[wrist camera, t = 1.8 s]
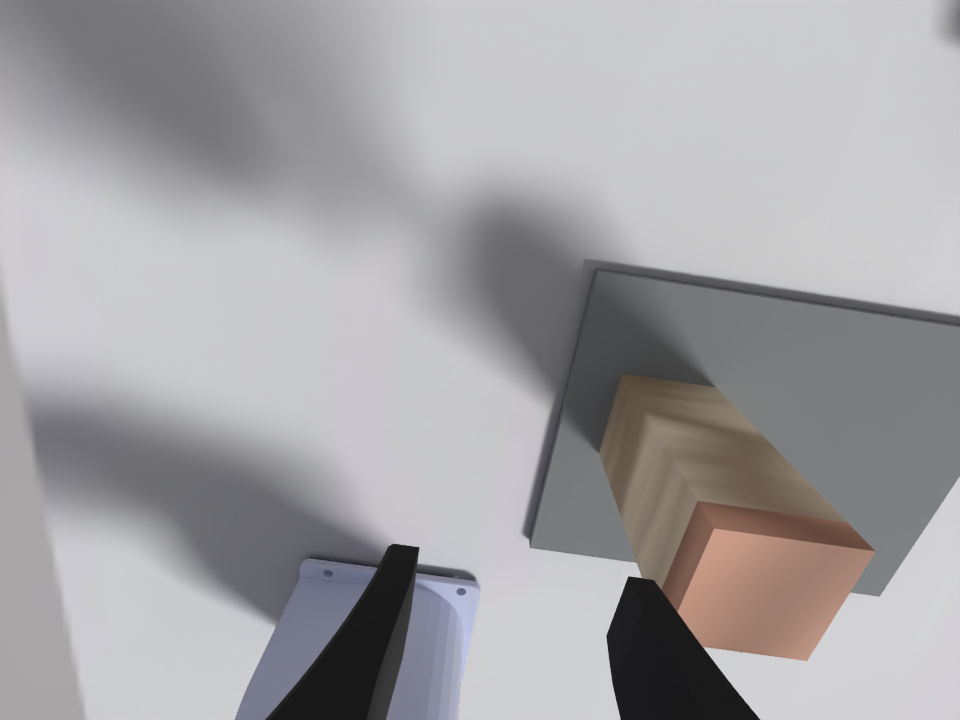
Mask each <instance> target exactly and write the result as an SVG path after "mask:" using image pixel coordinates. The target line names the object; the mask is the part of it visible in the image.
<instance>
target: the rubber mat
mask: <svg viewBox="0 0 960 720" xmlns="http://www.w3.org/2000/svg"><path fill="white" fill-rule="evenodd" d="M622 373H624V374H630V375H637V376H644V377H651V378H657V379H664V380H671V381H677V382H684V383H691V384H697V385H704V386H711V387H716V388H717V389H718V390H719V391H720V392H721V393H722V394H723V395H724V396H725V397H726V398H727V399H728V400H729V401H730V402H731V403H732V404H733V405H734V406H735V407H736V408H737V409H738V410H739V412H740V413H741V414H742V415H743V416H744V417H745V418H746V419H747V420H748V421H749V422H750V423H751V424H752V425H753V426H754V427H755V428H756V429H757V430H758V431H759V432H760V433H761V434H762V435H763V436H764V437H765V438H766V439H767V440H768V441H769V442H770V443H771V444H772V445H773V446H774V447H775V448H776V450H777V451H778V452H779V453H780V454H781V455H782V456H783V457H784V458H785V459H786V460H787V461H788V462H789V463H790V464H791V465H792V466H793V467H794V468H795V469H796V470H797V471H798V472H799V473H800V474H801V475H802V476H803V477H804V478H805V479H806V480H807V481H808V482H809V483H810V484H811V485H812V486H813V487H814V489H815V490H816V491H817V492H818V493H819V494H820V495H821V496H822V497H823V498H824V499H825V500H826V501H827V502H828V503H829V504H830V505H831V506H832V507H833V508H834V509H835V510H836V511H837V512H838V513H839V514H840V515H841V516H842V517H843V518H844V519H845V520H846V521H847V522H848V523H849V524H850V525H851V527H852V528H853V529H854V530H855V531H856V532H857V533H858V534H859V535H860V536H861V537H862V538H863V539H864V540H865V541H866V542H867V543H868V544H869V545H870V546H871V547H872V548H873V549H874V550H875V551H876V552H875V553H874V555H873V557H872V558H871V560H870V561H869V563H868V564H867V566H866V568H865V569H864V571H863V572H862V574H861V576H860V577H859V579H858V580H857V582H856V584H855V585H854V587H853V588H852V590H851V593H858V594H865V595H873V596H880V595H881V593H882V592H883V590H884V589H885V587H886V586H887V584H888V583H889V581H890V580H891V578H892V577H893V575H894V574H895V572H896V571H897V569H898V568H899V566H900V565H901V563H902V562H903V560H904V559H905V557H906V556H907V554H908V553H909V551H910V550H911V548H912V547H913V545H914V544H915V542H916V541H917V539H918V538H919V536H920V535H921V533H922V532H923V530H924V529H925V527H926V526H927V524H928V523H929V521H930V520H931V518H932V517H933V515H934V514H935V512H936V511H937V509H938V508H939V506H940V505H941V503H942V502H943V500H944V499H945V497H946V496H947V494H948V493H949V491H950V490H951V488H952V487H953V485H954V484H955V482H956V481H957V479H958V478H959V476H960V325H956V324H949V323H943V322H936V321H930V320H924V319H917V318H911V317H904V316H898V315H891V314H885V313H878V312H872V311H865V310H859V309H852V308H846V307H840V306H833V305H827V304H820V303H814V302H807V301H801V300H794V299H788V298H781V297H775V296H768V295H762V294H755V293H749V292H743V291H736V290H730V289H723V288H717V287H710V286H704V285H697V284H691V283H684V282H678V281H671V280H665V279H659V278H652V277H646V276H639V275H633V274H626V273H620V272H613V271H607V270H600V269H596V270H595V274H594V278H593V282H592V286H591V290H590V294H589V298H588V302H587V307H586V311H585V315H584V319H583V323H582V327H581V331H580V335H579V339H578V343H577V347H576V352H575V356H574V360H573V364H572V368H571V372H570V376H569V380H568V384H567V388H566V392H565V397H564V401H563V405H562V409H561V413H560V417H559V421H558V425H557V429H556V433H555V437H554V442H553V446H552V450H551V454H550V458H549V462H548V466H547V470H546V474H545V478H544V482H543V487H542V491H541V495H540V499H539V503H538V507H537V511H536V515H535V519H534V523H533V527H532V531H531V536H530V540H529V543H530V548H535V549H542V550H549V551H556V552H563V553H571V554H578V555H585V556H592V557H599V558H607V559H614V560H621V561H628V562H635V563H637V562H636V559H635V556H634V553H633V550H632V547H631V544H630V542H629V539H628V536H627V533H626V530H625V527H624V524H623V521H622V519H621V516H620V513H619V510H618V507H617V504H616V501H615V499H614V496H613V493H612V490H611V487H610V484H609V481H608V478H607V476H606V473H605V470H604V467H603V464H602V461H601V458H600V456H599V451H600V447H601V444H602V440H603V437H604V433H605V430H606V427H607V423H608V420H609V416H610V413H611V409H612V406H613V403H614V399H615V396H616V392H617V389H618V386H619V382H620V379H621V375H622Z"/></svg>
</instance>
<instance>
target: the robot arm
mask: <svg viewBox="0 0 960 720" xmlns="http://www.w3.org/2000/svg"><path fill="white" fill-rule="evenodd" d="M418 554H419V547H413V546H406V545H399V544H392V545H390V546H389V547H388V548H387V551H386V553H385V555H384V557H383V559H382V561H381V563H380V565H379V567H378V568H376V567H369V566H362V565H354V564H347V563H340V562H332V561H325V560H318V559H305V560H304V561H303V562H302V564H301V566H300V569H299V580H298V582H297V584H296V586H295V588H294V590H293V592H292V595H291V597H290V599H289V601H288V603H287V605H286V607H285V609H284V611H283V613H282V615H281V618H280V620H279V622H278V624H277V626H276V628H275V630H274V632H273V634H272V636H271V638H270V641H269V643H268V645H267V647H266V649H265V651H264V653H263V655H262V657H261V659H260V662H259V664H258V666H257V668H256V670H255V672H254V674H253V676H252V678H251V680H250V683H249V685H248V687H247V689H246V692H245V694H244V696H243V699H242V701H241V704H240V707H239V709H238V712H237V715H236V718H235V720H458V712H459V697H460V683H461V682H462V680H463V675H464V670H465V665H466V660H467V655H468V650H469V646H470V641H471V636H472V631H473V626H474V621H475V616H476V611H477V606H478V601H479V596H480V585H479V584H478V583H477V582H475V581H471V580H464V579H456V578H449V577H442V576H435V575H427V574H420V573H416V570H417V562H418ZM328 570H330V571H328ZM459 588H463V589H459ZM607 644H608V653H609V661H610V668H611V675H612V682H613V688H614V692H615V697H616V701H617V705H618V709H619V714H620V718H621V720H760V719H759V718H758V717H757V715H756V714H755V713H754V712H753V710H752V709H751V708H750V707H749V706H748V704H747V703H746V702H745V701H744V700H743V698H742V697H741V696H740V695H739V693H738V692H737V691H736V690H735V688H734V687H733V686H732V685H731V683H730V682H729V681H728V680H727V678H726V677H725V676H724V674H723V673H722V672H721V670H720V669H719V668H718V667H717V665H716V664H715V663H714V661H713V660H712V659H711V657H710V656H709V655H708V653H707V652H706V651H705V649H704V648H703V647H702V645H701V644H700V643H699V641H698V640H697V639H696V637H695V636H694V634H693V633H692V632H691V630H690V629H689V628H688V626H687V625H686V624H685V622H684V621H683V619H682V618H681V617H680V615H679V614H678V612H677V611H676V610H675V608H674V607H673V605H672V604H671V603H670V601H669V600H668V599H667V597H666V596H665V594H664V593H663V592H662V590H661V589H660V587H659V586H658V585H657V583H656V582H655V581H654V580H651V579H643V578H636V577H629V576H628V579H627V582H626V584H625V587H624V590H623V593H622V595H621V598H620V601H619V603H618V606H617V609H616V612H615V614H614V617H613V620H612V622H611V625H610V628H609V631H608V633H607Z"/></svg>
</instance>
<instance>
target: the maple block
mask: <svg viewBox="0 0 960 720" xmlns="http://www.w3.org/2000/svg"><path fill="white" fill-rule="evenodd" d="M599 456H600V458H601V461H602V464H603V467H604V470H605V473H606V476H607V478H608V481H609V484H610V487H611V490H612V493H613V496H614V499H615V501H616V504H617V507H618V510H619V513H620V516H621V519H622V521H623V524H624V527H625V530H626V533H627V536H628V539H629V542H630V544H631V547H632V550H633V553H634V556H635V559H636V562H637V564H638V567H639V570H640V573H641V576H642V578H643V579H651V580H654V581H655V582H656V583H657V585H658V586H659V587H660V589H661V590H662V592H663V593H664V594H665V596H666V597H667V599H668V600H669V601H670V603H671V604H672V605H673V607H674V608H675V610H676V611H677V612H678V614H679V615H680V617H681V618H682V619H683V621H684V622H685V624H686V625H687V626H688V628H689V629H690V630H691V632H692V633H693V634H694V636H695V637H696V639H697V640H698V641H699V643H700V644H701V645H702V647H708V648H716V649H723V650H731V651H738V652H745V653H753V654H760V655H768V656H775V657H782V658H790V659H797V660H805V661H807V660H808V658H809V657H810V655H811V654H812V652H813V650H814V649H815V647H816V646H817V644H818V642H819V641H820V639H821V638H822V636H823V634H824V633H825V631H826V630H827V628H828V626H829V625H830V623H831V622H832V620H833V619H834V617H835V615H836V614H837V612H838V611H839V609H840V607H841V606H842V604H843V603H844V601H845V599H846V598H847V596H848V595H849V593H850V592H851V590H852V588H853V587H854V585H855V584H856V582H857V580H858V579H859V577H860V576H861V574H862V572H863V571H864V569H865V568H866V566H867V564H868V563H869V561H870V560H871V558H872V557H873V555H874V553H875V552H876V551H875V550H874V549H873V548H872V547H871V546H870V545H869V544H868V543H867V542H866V541H865V540H864V539H863V538H862V537H861V536H860V535H859V534H858V533H857V532H856V531H855V530H854V529H853V528H852V527H851V525H850V524H849V523H848V522H847V521H846V520H845V519H844V518H843V517H842V516H841V515H840V514H839V513H838V512H837V511H836V510H835V509H834V508H833V507H832V506H831V505H830V504H829V503H828V502H827V501H826V500H825V499H824V498H823V497H822V496H821V495H820V494H819V493H818V492H817V491H816V490H815V489H814V487H813V486H812V485H811V484H810V483H809V482H808V481H807V480H806V479H805V478H804V477H803V476H802V475H801V474H800V473H799V472H798V471H797V470H796V469H795V468H794V467H793V466H792V465H791V464H790V463H789V462H788V461H787V460H786V459H785V458H784V457H783V456H782V455H781V454H780V453H779V452H778V451H777V450H776V448H775V447H774V446H773V445H772V444H771V443H770V442H769V441H768V440H767V439H766V438H765V437H764V436H763V435H762V434H761V433H760V432H759V431H758V430H757V429H756V428H755V427H754V426H753V425H752V424H751V423H750V422H749V421H748V420H747V419H746V418H745V417H744V416H743V415H742V414H741V413H740V412H739V410H738V409H737V408H736V407H735V406H734V405H733V404H732V403H731V402H730V401H729V400H728V399H727V398H726V397H725V396H724V395H723V394H722V393H721V392H720V391H719V390H718V389H717V388H716V387H711V386H704V385H697V384H691V383H684V382H677V381H671V380H664V379H657V378H651V377H644V376H637V375H630V374H624V373H622V375H621V379H620V382H619V386H618V389H617V392H616V396H615V399H614V403H613V406H612V409H611V413H610V416H609V420H608V423H607V427H606V430H605V433H604V437H603V440H602V444H601V447H600V451H599Z"/></svg>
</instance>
